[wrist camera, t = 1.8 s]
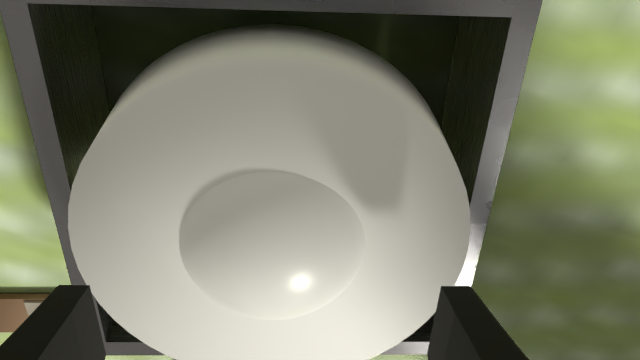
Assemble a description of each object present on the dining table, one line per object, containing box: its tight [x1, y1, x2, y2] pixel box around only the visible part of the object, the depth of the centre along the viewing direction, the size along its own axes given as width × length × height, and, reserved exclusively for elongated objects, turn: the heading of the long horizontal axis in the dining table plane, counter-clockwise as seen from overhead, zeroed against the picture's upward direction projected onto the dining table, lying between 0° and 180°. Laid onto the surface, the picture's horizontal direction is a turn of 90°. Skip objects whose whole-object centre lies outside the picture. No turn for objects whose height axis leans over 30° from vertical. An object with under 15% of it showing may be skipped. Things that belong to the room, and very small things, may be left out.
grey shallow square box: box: [0, 0, 542, 355], centre depth 17 cm, size 12×12×4 cm
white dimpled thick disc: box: [68, 24, 471, 360], centre depth 15 cm, size 10×10×5 cm
